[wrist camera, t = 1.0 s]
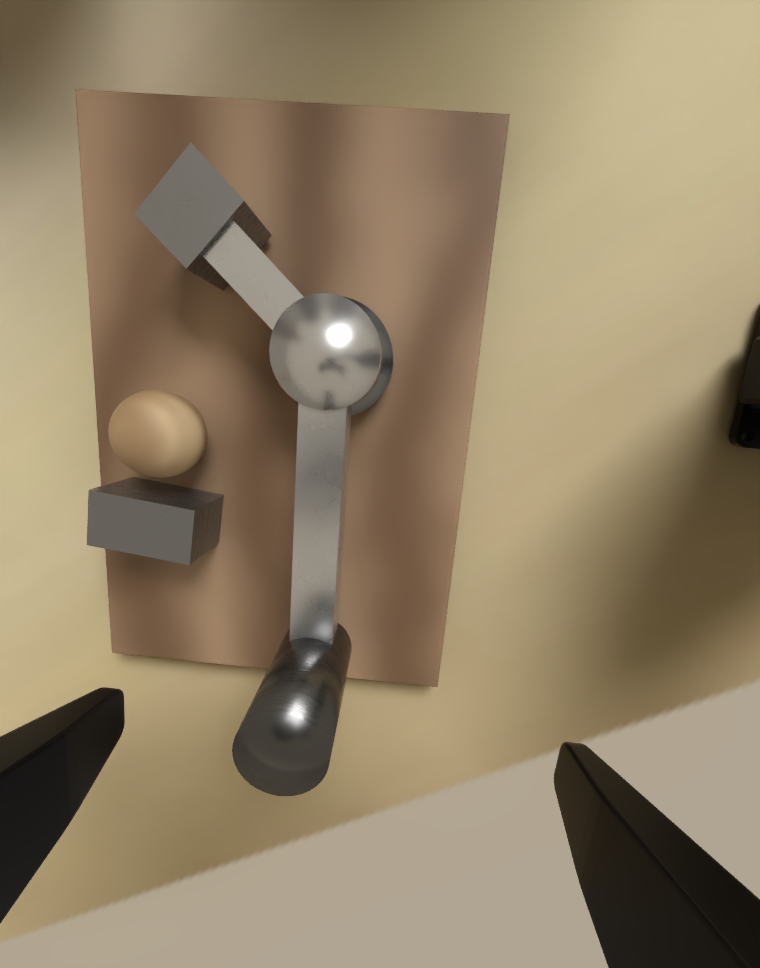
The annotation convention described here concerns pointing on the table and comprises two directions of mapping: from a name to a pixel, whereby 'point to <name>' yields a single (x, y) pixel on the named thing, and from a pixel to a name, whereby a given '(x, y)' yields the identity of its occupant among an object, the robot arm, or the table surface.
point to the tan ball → (157, 433)
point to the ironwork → (182, 500)
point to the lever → (319, 460)
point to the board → (248, 372)
